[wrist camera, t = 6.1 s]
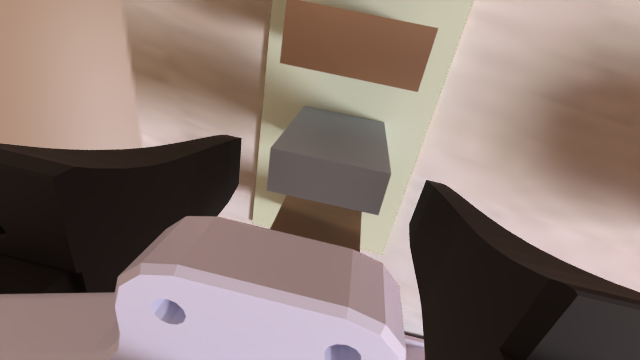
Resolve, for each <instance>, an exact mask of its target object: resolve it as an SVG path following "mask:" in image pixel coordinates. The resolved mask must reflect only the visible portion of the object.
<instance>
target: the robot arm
mask: <svg viewBox="0 0 640 360" xmlns="http://www.w3.org/2000/svg"><path fill="white" fill-rule="evenodd" d="M240 154H241V138H238V137H233V136H229V135H217V136H211V137H205V138H200V139H195V140H190V141H185V142H180V143H174V144H168V145H162V146H155V147H147V148H136V149H124V150H68V149H50V148H38V147H28V146H19V145H9V144H0V360H640V292H637V291H634V290H632V289H629V288H626V287H623V286H621V285H618V284H615V283H612V282H610V281H607V280H605V279H603V278H600V277H598V276H596V275H593V274H591V273H588V272H586V271H584V270H581V269H579V268H577V267H575V266H573V265H570V264H568V263H566V262H564V261H562V260H560V259H558V258H556V257H554V256H552V255H550V254H548V253H546V252H544V251H542V250H540V249H538V248H536V247H535V246H533V245H531V244H529V243H527V242H526V241H524V240H522V239H521V238H519V237H517V236H516V235H514V234H512V233H511V232H509V231H508V230H506V229H505V228H503V227H502V226H500V225H499V224H497V223H496V222H494V221H493V220H492V219H490V218H489V217H487V216H486V215H485V214H483V213H482V212H481V211H479V210H478V209H477V208H475V207H474V206H473V205H472V204H470V203H469V202H468V201H466V200H465V199H464V198H463V197H461V196H460V195H459V194H457V193H456V192H455V191H453V190H452V189H451V188H449V187H448V186H446V185H444V184H441V183H437V182H433V181H428V180H426V182H425V185H424V188H423V190H422V193H421V195H420V198H419V200H418V203H417V206H416V208H415V211H414V213H413V216H412V219H411V221H410V224H409V235H410V248H411V254H412V259H413V264H414V269H415V274H416V279H417V284H418V289H419V294H420V300H421V307H422V319H423V332H424V339H420V338H416V337H412V336H408V335H404V326H403V317H402V307H401V298H400V289H399V285H398V284H397V282H396V281H395V280H394V278H393V277H392V275H391V274H390V273H389V271H388V270H387V269H386V267H385V266H384V264H383V263H381V262H379V261H377V260H374V259H372V258H370V257H368V256H366V255H364V254H362V253H360V252H358V251H356V250H354V249H350V248H346V247H341V246H337V245H333V244H329V243H325V242H321V241H317V240H312V239H308V238H304V237H300V236H296V235H292V234H287V233H283V232H279V231H275V230H271V229H267V228H262V227H258V226H254V225H250V224H246V223H242V222H237V221H233V220H229V219H225V218H221V217H217V216H218V215H219V213H220V212H221V211H222V210H223V208H224V207H225V206H226V205H227V203H228V202H229V200H230V199H231V197H232V195H233V194H234V192H235V190H236V188H237V186H238V185H239V170H240Z"/></svg>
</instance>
